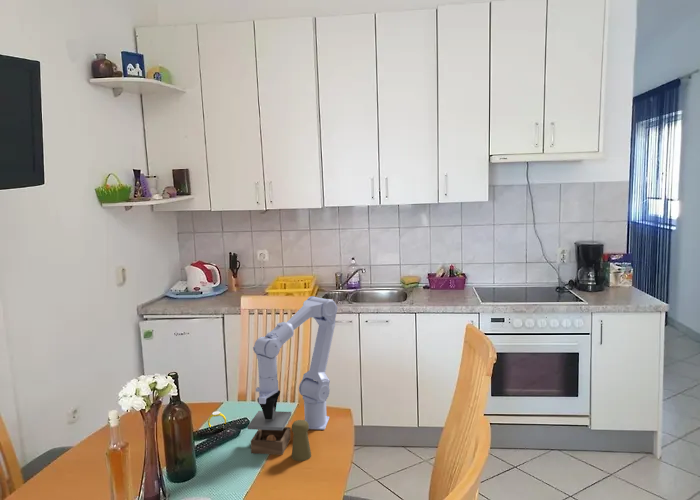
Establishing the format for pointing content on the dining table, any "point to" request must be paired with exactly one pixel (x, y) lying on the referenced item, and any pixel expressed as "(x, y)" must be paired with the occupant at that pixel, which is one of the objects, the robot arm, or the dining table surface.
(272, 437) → the ball
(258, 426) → the lid
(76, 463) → the dining table surface
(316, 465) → the dining table surface
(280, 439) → the box
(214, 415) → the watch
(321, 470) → the dining table surface
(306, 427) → the olive tapered shaker
